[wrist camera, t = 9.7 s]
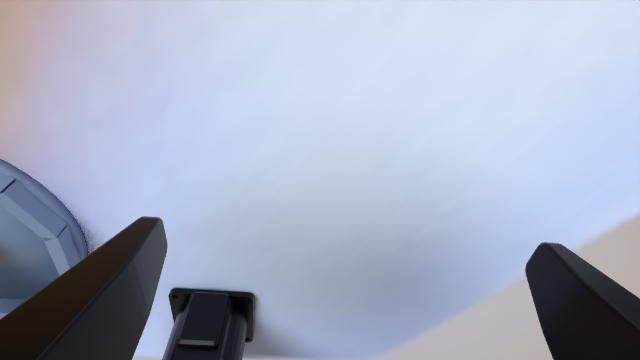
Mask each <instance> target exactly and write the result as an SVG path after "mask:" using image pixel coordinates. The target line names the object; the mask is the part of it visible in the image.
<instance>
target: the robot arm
mask: <svg viewBox="0 0 640 360" xmlns="http://www.w3.org/2000/svg"><path fill="white" fill-rule="evenodd" d="M166 253H167V239H166V234H165V230H164V225H163V221H162V219H161V218H159V217H146V216H144V217H141V218H139V219H137V220H136V221H135V222H133V223H132V224H131V225H129V226H128V227H126V228H125V229H124V230H122V231H121V232H120V233H118V234H117V235H115V236H114V237H113V238H111V239H110V240H109V241H107V242H106V243H104V244H103V245H102V246H100V247H99V248H97V249H96V250H95V251H93V252H92V253H91V254H89V255H88V256H86V257H85V258H84V259H82V260H81V261H80V262H78V263H77V264H75V265H74V266H73V267H71V268H70V269H69V270H67V271H66V272H64V273H63V274H62V275H60V276H59V277H58V278H56V279H55V280H53V281H52V282H51V283H49V284H48V285H47V286H45V287H44V288H42V289H41V290H40V291H38V292H37V293H36V294H34V295H33V296H31V297H30V298H29V299H27V300H26V301H24V302H23V303H22V304H20V305H19V306H18V307H16V308H15V309H13V310H12V311H11V312H9V313H8V314H7V315H5V316H4V317H2V318H1V319H0V360H132V358H133V355H134V353H135V350H136V348H137V345H138V343H139V340H140V338H141V335H142V333H143V330H144V328H145V325H146V322H147V320H148V317H149V314H150V311H151V308H152V304H153V301H154V297H155V293H156V290H157V286H158V282H159V279H160V275H161V271H162V268H163V264H164V260H165V256H166ZM525 271H526V277H527V280H528V283H529V287H530V290H531V294H532V297H533V301H534V304H535V307H536V311H537V315H538V318H539V322H540V325H541V328H542V331H543V334H544V337H545V339H546V342H547V344H548V347H549V349H550V352H551V354H552V357H553V359H554V360H640V299H639V298H638V297H637V296H635V295H634V294H632V293H631V292H629V291H628V290H627V289H625V288H624V287H622V286H621V285H619V284H618V283H616V282H615V281H614V280H612V279H611V278H609V277H608V276H606V275H605V274H603V273H602V272H601V271H599V270H598V269H596V268H595V267H593V266H592V265H590V264H589V263H588V262H586V261H585V260H583V259H582V258H580V257H579V256H578V255H576V254H575V253H573V252H572V251H570V250H569V249H567V248H566V247H565V246H563V245H561V244H559V243H547V242H544V243H541V244H540V245H539V246H538V247H537V248H536V250H535V252H534V253H533V255H532V256H531V258H530V259H529V261H528V262H527V264H526V269H525ZM169 300H170V305H171V310H172V315H173V320H174V326H173V329H172V332H171V335H170V338H169V341H168V344H167V347H166V350H165V353H164V356H163V359H162V360H242V357H243V350H244V344H245V342H246V343H248V342H251V341H252V340H253V325H254V295H253V294H251V293H244V292H227V291H211V290H194V289H178V288H175V289H172V290H171V291H170V293H169Z"/></svg>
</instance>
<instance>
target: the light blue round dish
mask: <svg viewBox="0 0 640 360" xmlns="http://www.w3.org/2000/svg"><path fill="white" fill-rule="evenodd" d="M86 256H88V255H87V245H86V242H85V238H84V236H83V233H82V231H81V229H80V227H79V225H78V224H77V222H76V221H75V219H74V218H73V216H72V215H71V214H70V212H69V211H68V210H67V209H66V208H65V206H64V205H63V204H62V203H61V202H60V201H59V200H58V199H57V198H56V197H55V196H54V195H53V194H52V193H50V192H49V191H48V190H47V189H46V188H44V187H43V186H42V185H41V184H40V183H38V182H37V181H35V180H34V179H33V178H31V177H30V176H28V175H27V174H25V173H24V172H22V171H21V170H19V169H17V168H15V167H14V166H12V165H10V164H9V163H7V162H5V161H3V160H1V159H0V319H1V318H2V317H4V316H5V315H7V314H8V313H9V312H11V311H12V310H13V309H15V308H16V307H18V306H19V305H20V304H22V303H23V302H24V301H26V300H27V299H29V298H30V297H31V296H33V295H34V294H36V293H37V292H38V291H40V290H41V289H42V288H44V287H45V286H47V285H48V284H49V283H51V282H52V281H53V280H55V279H56V278H58V277H59V276H60V275H62V274H63V273H64V272H66V271H67V270H69V269H70V268H71V267H73V266H74V265H75V264H77V263H78V262H80V261H81V260H82V259H84V258H85V257H86Z"/></svg>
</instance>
